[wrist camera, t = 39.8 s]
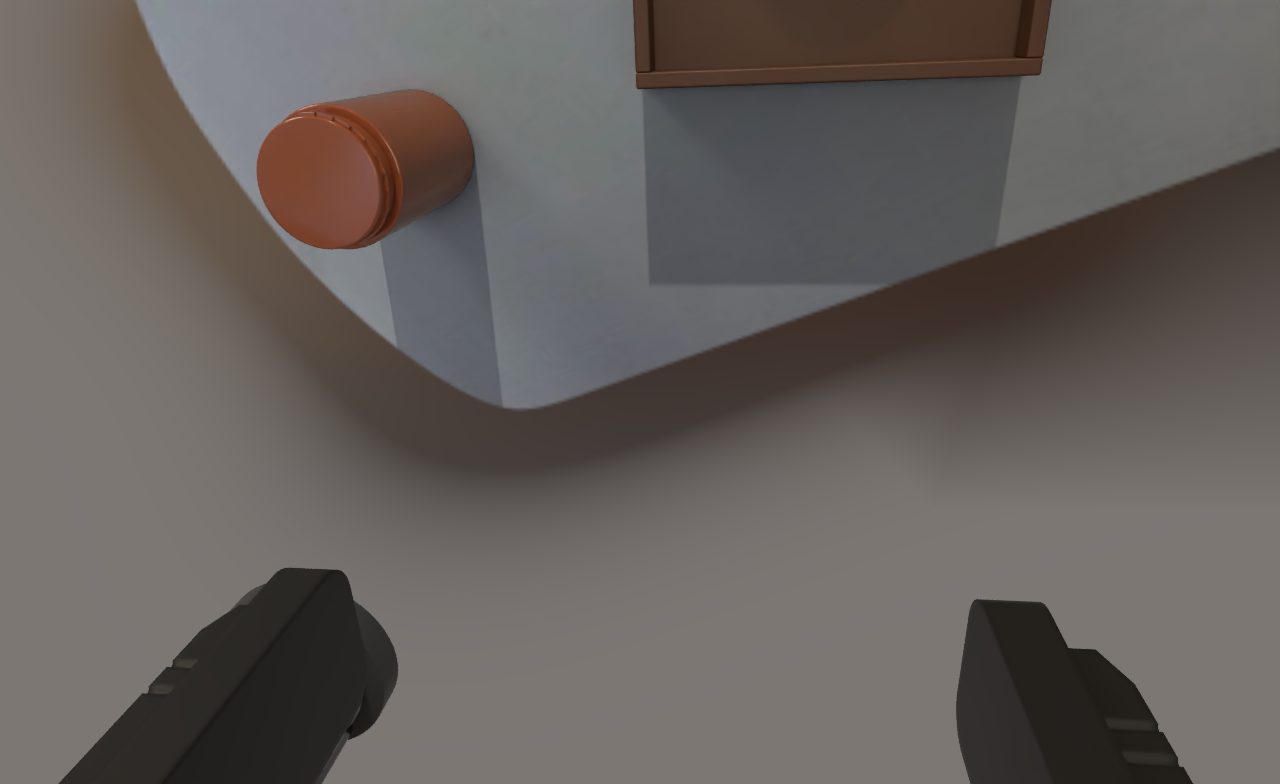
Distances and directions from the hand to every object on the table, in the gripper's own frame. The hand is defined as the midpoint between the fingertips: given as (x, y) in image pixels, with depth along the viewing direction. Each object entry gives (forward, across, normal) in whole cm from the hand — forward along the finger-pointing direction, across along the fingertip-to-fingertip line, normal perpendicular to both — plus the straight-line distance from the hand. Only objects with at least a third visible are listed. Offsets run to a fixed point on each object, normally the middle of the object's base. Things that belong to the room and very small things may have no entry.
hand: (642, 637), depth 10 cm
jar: (+28, +14, -3) cm, 31 cm away
